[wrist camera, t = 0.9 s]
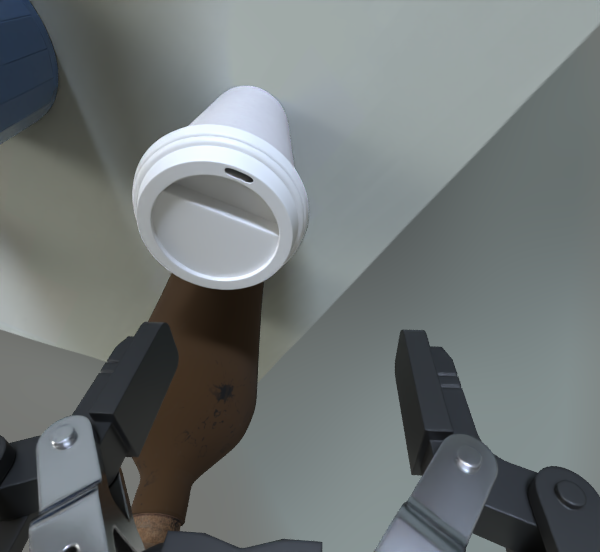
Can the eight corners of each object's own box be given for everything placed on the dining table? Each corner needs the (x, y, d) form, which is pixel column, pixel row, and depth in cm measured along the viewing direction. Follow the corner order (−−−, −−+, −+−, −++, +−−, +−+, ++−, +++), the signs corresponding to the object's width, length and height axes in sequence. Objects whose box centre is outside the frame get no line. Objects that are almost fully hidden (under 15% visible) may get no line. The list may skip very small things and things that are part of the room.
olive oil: (175, 220, 36) (33, 512, 17) (279, 244, 38) (254, 532, 19) (170, 294, 43) (65, 561, 24) (259, 311, 45) (226, 572, 26)
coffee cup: (331, 133, 30) (347, 240, 19) (252, 201, 34) (227, 322, 23) (245, 30, 25) (197, 91, 14) (166, 124, 30) (82, 228, 18)
